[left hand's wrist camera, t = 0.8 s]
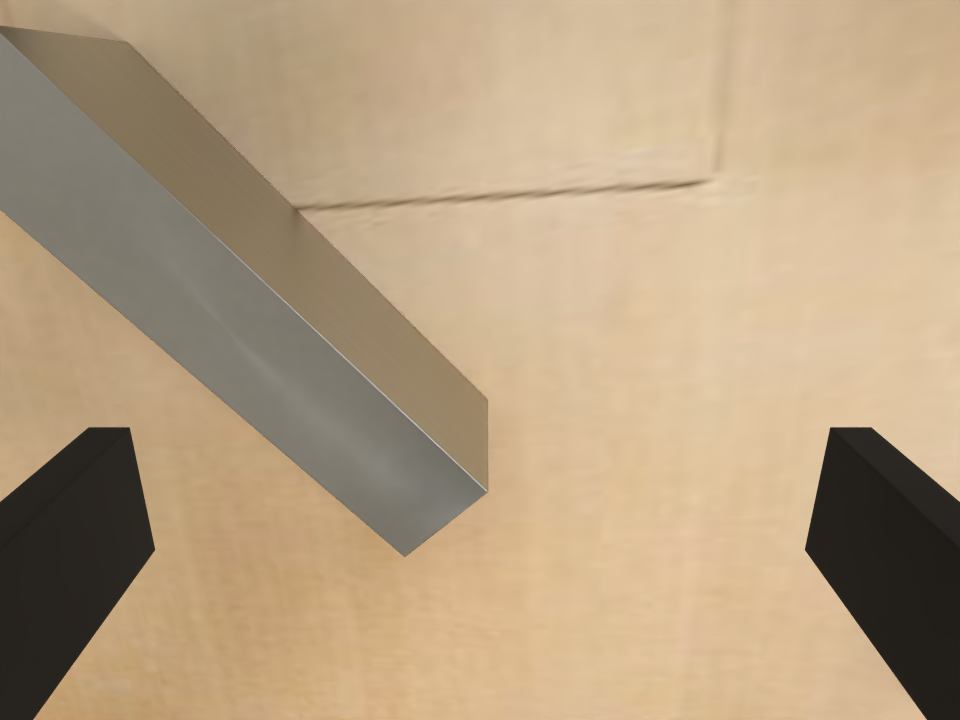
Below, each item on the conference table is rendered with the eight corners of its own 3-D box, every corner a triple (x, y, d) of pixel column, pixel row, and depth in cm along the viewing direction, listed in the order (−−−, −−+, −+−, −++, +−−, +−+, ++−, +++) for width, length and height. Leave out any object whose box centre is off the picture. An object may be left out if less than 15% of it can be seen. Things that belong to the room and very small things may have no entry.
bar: (63, 121, 32) (-91, 133, 23) (127, 41, 31) (-11, 23, 22) (422, 454, 38) (404, 557, 30) (488, 400, 37) (488, 492, 29)
